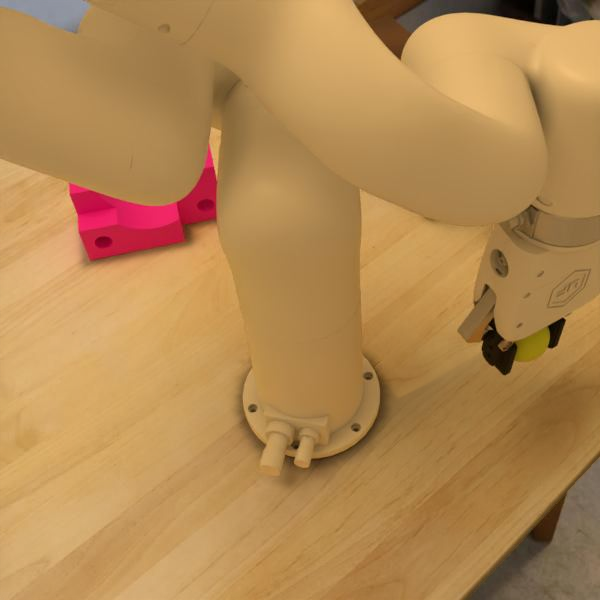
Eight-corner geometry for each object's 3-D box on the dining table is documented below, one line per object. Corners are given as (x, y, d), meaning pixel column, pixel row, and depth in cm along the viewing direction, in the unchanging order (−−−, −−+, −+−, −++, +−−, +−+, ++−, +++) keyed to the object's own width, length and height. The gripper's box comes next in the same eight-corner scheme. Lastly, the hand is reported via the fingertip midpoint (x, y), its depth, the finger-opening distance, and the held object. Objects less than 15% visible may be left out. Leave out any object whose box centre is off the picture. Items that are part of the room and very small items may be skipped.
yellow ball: (542, 376, 72) (552, 346, 68) (489, 366, 72) (497, 336, 69) (546, 334, 74) (556, 303, 71) (495, 325, 75) (502, 294, 72)
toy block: (90, 260, 91) (70, 211, 86) (87, 219, 95) (68, 169, 89) (227, 233, 92) (217, 183, 87) (219, 193, 96) (209, 142, 90)
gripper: (500, 284, 54) (467, 427, 69) (692, 183, 59) (623, 336, 74) (430, 213, 58) (412, 362, 73) (615, 123, 63) (564, 279, 78)
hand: (519, 347), depth 73 cm, fingers closed on yellow ball, 4 cm apart
